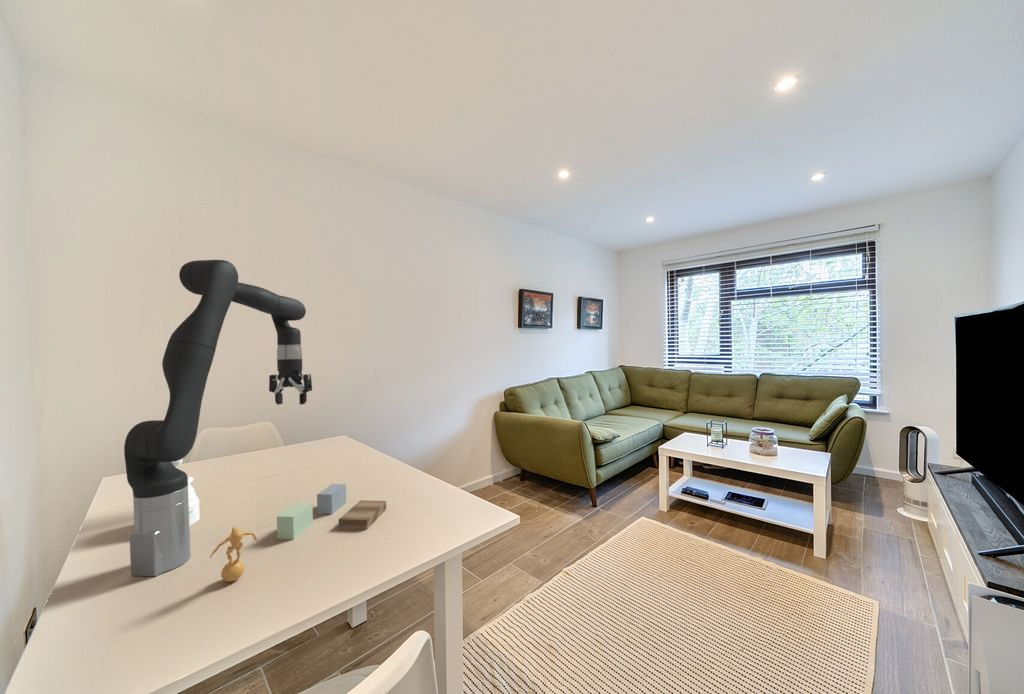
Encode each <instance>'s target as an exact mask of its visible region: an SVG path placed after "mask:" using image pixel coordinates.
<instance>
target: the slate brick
mask: <svg viewBox="0 0 1024 694" xmlns="http://www.w3.org/2000/svg"><path fill="white" fill-rule="evenodd" d="M346 503H347V484H346V483H331V484H330V485H328V486H327V487H325V488H323V490H321V491H320V492H318V493H316V505H317V506H316V507H317V508H316V509H317V511H316V513H317V515H333V514H335V512H337V511H338V510H339V509H341V508H342V507H343V506H344V505H345V504H346Z"/></svg>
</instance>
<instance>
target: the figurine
mask: <svg viewBox="0 0 1024 694" xmlns="http://www.w3.org/2000/svg"><path fill="white" fill-rule="evenodd" d="M243 536H252V537H253V541H256V542H257V541H258V537H257V536H256V534H255V533H254V531H242V530H240V529H239V528H238V527H237V526H234V527H232V528H231V533H230V535H229V536H227V537H226V538H225V539H224V540H222V541H221V542H220V543H219V544H218V545H217V546H216V548H214V550H213V551H212V552H211V555H210V556H209V559H210V560H211V559H212V556H213V555H214V554H215V553H216V552H218V550H219V548H220V547H222V546H223V545H225V544H226V543H228V542H230V544H231V546H228V547H226V549H227V550H226V552H225V554H226V555H227V560H228V562H227V563H226V564H225V565H224V566H223V568H222V569H221V572H220V574H221V579H222V580H223V581H224V582H226V583H227V582H228V583H231V582H234V581H237V580H238V579H240V578H241V576H242V575H244V572H245V564H244V563H243V562H242V561H241V560H240V556H241V551H240V550H241V549H242V547H243V545H244V543H243V541H242V539H243ZM234 550H236V556H237V557H236V559H234V560H233V559H232V558H233V557H232V555H231V554H232V553H233V552H234Z"/></svg>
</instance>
